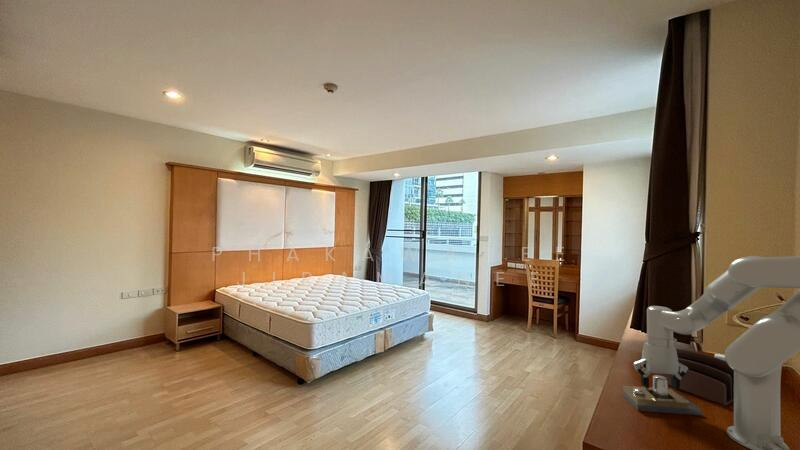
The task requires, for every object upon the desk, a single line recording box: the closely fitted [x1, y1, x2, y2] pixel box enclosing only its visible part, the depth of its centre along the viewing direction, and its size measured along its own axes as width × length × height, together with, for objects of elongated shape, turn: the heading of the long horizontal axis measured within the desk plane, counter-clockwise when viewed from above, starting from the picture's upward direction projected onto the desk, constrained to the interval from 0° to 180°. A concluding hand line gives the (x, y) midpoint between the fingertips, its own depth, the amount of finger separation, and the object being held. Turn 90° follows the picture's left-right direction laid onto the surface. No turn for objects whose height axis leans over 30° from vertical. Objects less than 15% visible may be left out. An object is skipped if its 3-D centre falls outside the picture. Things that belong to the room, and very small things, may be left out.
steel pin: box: [652, 374, 669, 399], centre depth 119 cm, size 4×4×10 cm
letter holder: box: [662, 347, 734, 407], centre depth 129 cm, size 10×20×14 cm, turn 27°
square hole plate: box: [622, 385, 703, 416], centre depth 119 cm, size 20×10×5 cm, turn 80°
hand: (660, 387), depth 119 cm, fingers open, 9 cm apart
